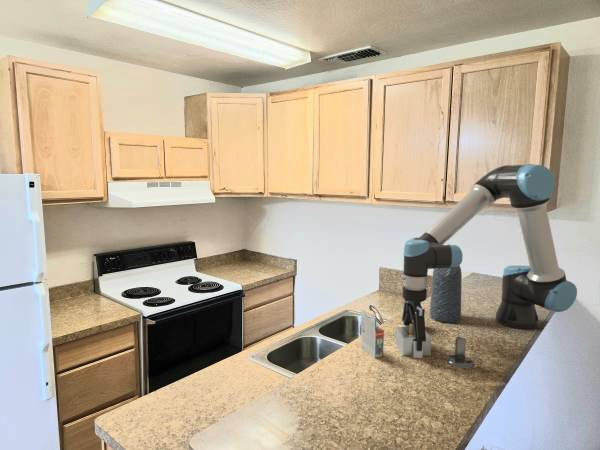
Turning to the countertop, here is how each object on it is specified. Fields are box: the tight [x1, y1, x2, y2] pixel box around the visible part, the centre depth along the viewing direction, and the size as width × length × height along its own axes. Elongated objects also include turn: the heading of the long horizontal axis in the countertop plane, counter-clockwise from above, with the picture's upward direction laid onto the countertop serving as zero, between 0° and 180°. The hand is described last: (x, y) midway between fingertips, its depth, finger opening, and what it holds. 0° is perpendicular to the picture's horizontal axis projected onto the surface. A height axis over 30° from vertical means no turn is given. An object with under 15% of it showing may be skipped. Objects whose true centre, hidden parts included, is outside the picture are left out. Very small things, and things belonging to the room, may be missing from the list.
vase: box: [429, 265, 463, 324], centre depth 157 cm, size 12×12×28 cm
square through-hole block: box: [395, 326, 432, 357], centre depth 127 cm, size 9×9×6 cm
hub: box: [446, 336, 474, 369], centre depth 118 cm, size 8×8×8 cm
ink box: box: [360, 309, 385, 359], centre depth 124 cm, size 4×8×15 cm, turn 26°
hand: (412, 351), depth 127 cm, fingers open, 11 cm apart
